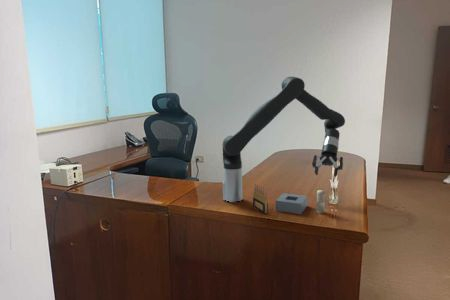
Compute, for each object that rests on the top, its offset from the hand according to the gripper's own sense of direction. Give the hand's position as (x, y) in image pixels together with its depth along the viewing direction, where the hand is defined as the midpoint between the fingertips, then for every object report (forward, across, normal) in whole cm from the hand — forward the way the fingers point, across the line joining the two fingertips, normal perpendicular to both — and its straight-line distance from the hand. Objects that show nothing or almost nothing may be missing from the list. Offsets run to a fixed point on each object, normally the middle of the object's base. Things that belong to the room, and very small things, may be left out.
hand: (325, 175), depth 165 cm
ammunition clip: (+24, -26, -3) cm, 36 cm away
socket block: (+18, -14, +2) cm, 23 cm away
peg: (+18, 0, +2) cm, 18 cm away
